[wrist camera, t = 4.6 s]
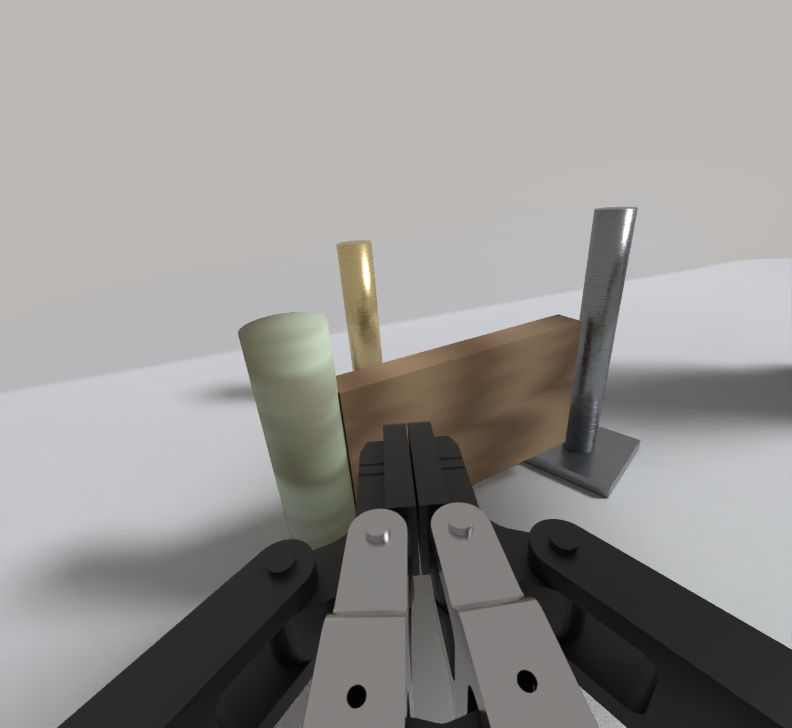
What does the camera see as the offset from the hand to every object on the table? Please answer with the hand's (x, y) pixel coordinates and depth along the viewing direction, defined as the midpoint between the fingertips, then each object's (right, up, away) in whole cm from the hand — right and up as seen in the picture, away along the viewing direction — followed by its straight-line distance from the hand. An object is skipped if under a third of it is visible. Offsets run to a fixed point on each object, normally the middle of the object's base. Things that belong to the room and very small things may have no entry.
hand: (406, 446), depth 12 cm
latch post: (-3, 0, +25) cm, 25 cm away
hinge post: (+12, -4, +15) cm, 20 cm away
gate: (+2, -5, +10) cm, 11 cm away
